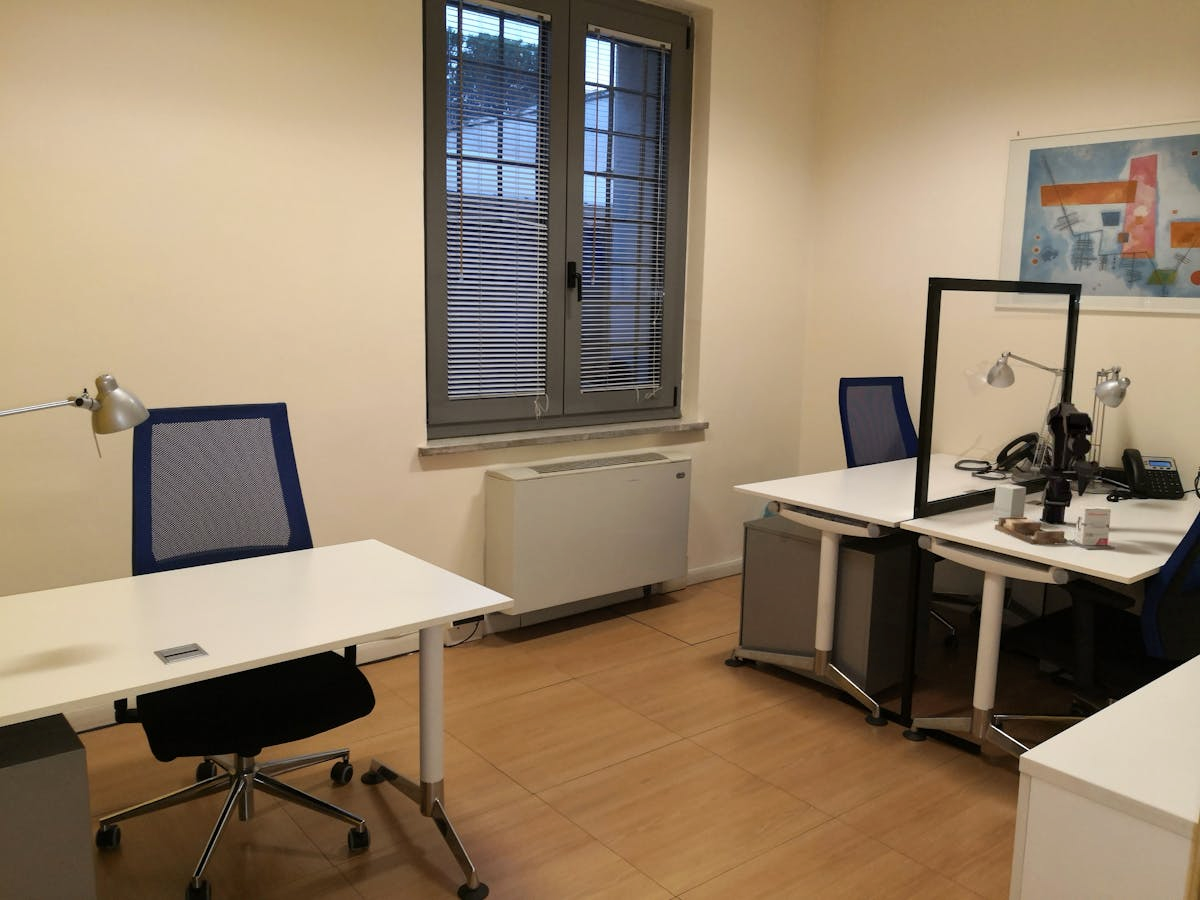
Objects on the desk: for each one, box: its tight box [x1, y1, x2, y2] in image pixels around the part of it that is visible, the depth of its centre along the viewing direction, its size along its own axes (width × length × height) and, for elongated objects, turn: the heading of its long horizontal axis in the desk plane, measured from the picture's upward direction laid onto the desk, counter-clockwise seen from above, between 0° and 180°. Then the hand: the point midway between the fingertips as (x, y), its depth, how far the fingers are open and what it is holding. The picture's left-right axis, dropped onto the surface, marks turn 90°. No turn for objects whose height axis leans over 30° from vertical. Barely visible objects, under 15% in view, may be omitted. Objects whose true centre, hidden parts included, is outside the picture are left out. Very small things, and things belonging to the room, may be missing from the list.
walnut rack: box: [994, 516, 1068, 545], centre depth 323 cm, size 12×20×4 cm, turn 12°
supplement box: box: [992, 483, 1027, 522], centre depth 344 cm, size 7×7×13 cm
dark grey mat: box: [1067, 539, 1116, 551], centre depth 314 cm, size 10×10×1 cm
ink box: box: [1074, 505, 1112, 545], centre depth 314 cm, size 9×5×12 cm, turn 94°
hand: (1068, 496), depth 326 cm, fingers open, 9 cm apart
